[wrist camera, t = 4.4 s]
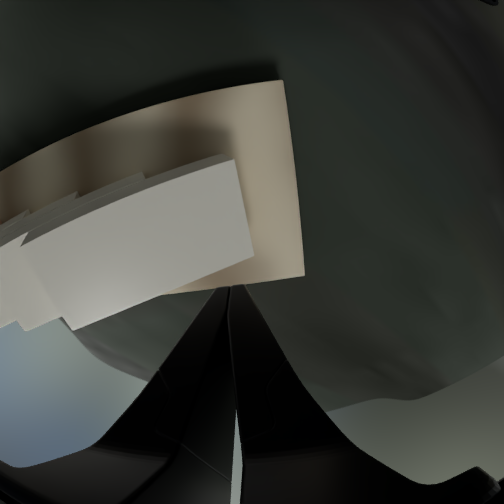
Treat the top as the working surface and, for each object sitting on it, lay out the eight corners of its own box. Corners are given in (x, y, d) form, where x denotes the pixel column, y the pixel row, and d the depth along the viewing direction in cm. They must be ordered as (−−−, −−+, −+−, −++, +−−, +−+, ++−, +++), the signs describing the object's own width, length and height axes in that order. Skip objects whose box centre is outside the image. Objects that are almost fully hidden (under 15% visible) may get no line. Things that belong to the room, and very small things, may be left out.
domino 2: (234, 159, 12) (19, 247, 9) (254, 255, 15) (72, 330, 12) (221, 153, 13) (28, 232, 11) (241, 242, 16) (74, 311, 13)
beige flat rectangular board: (280, 79, 12) (282, 80, 11) (302, 265, 18) (304, 275, 17) (-23, 186, 14) (-31, 192, 13) (35, 299, 20) (30, 307, 19)
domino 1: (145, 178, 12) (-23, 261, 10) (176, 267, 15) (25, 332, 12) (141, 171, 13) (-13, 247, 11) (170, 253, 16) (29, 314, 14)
